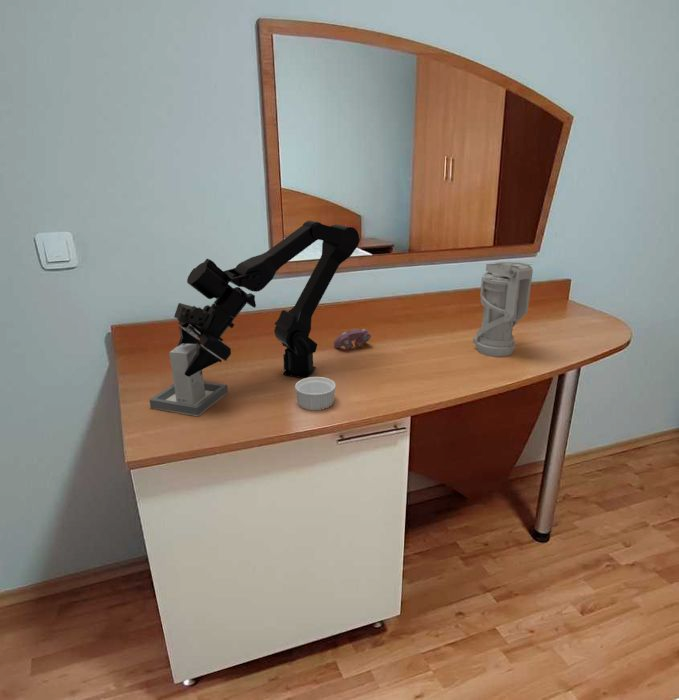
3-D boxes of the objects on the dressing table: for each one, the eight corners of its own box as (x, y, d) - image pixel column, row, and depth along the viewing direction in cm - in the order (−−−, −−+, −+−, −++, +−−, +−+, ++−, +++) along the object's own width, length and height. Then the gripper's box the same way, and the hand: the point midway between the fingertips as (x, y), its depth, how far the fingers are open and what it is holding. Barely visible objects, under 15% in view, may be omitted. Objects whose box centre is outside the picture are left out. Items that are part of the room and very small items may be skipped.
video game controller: (337, 356, 143) (342, 338, 138) (331, 344, 145) (336, 327, 141) (369, 350, 147) (374, 333, 142) (362, 339, 149) (367, 322, 144)
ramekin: (339, 410, 110) (339, 392, 108) (297, 413, 108) (297, 395, 107) (332, 392, 118) (331, 375, 117) (293, 395, 117) (292, 378, 115)
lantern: (467, 347, 144) (475, 258, 135) (496, 341, 148) (505, 255, 139) (499, 363, 133) (510, 267, 124) (529, 356, 137) (542, 263, 128)
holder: (227, 392, 118) (227, 384, 117) (197, 416, 108) (196, 408, 107) (183, 385, 122) (182, 377, 121) (150, 408, 111) (149, 399, 111)
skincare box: (194, 405, 112) (187, 353, 107) (175, 403, 112) (168, 352, 108) (206, 393, 117) (200, 343, 113) (188, 391, 118) (181, 342, 114)
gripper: (182, 280, 115) (138, 336, 114) (210, 299, 100) (160, 363, 99) (219, 308, 122) (178, 361, 120) (250, 330, 107) (204, 390, 106)
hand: (179, 368), depth 111 cm, fingers open, 9 cm apart
